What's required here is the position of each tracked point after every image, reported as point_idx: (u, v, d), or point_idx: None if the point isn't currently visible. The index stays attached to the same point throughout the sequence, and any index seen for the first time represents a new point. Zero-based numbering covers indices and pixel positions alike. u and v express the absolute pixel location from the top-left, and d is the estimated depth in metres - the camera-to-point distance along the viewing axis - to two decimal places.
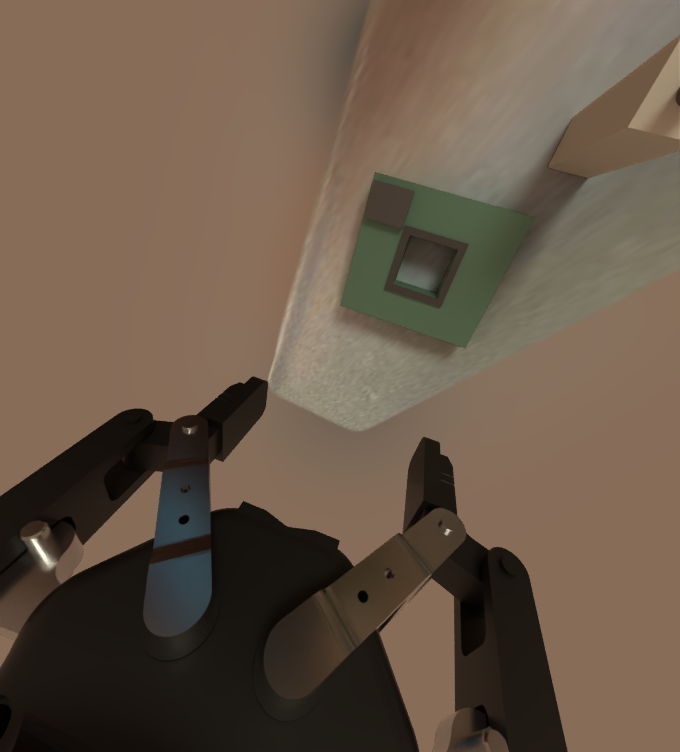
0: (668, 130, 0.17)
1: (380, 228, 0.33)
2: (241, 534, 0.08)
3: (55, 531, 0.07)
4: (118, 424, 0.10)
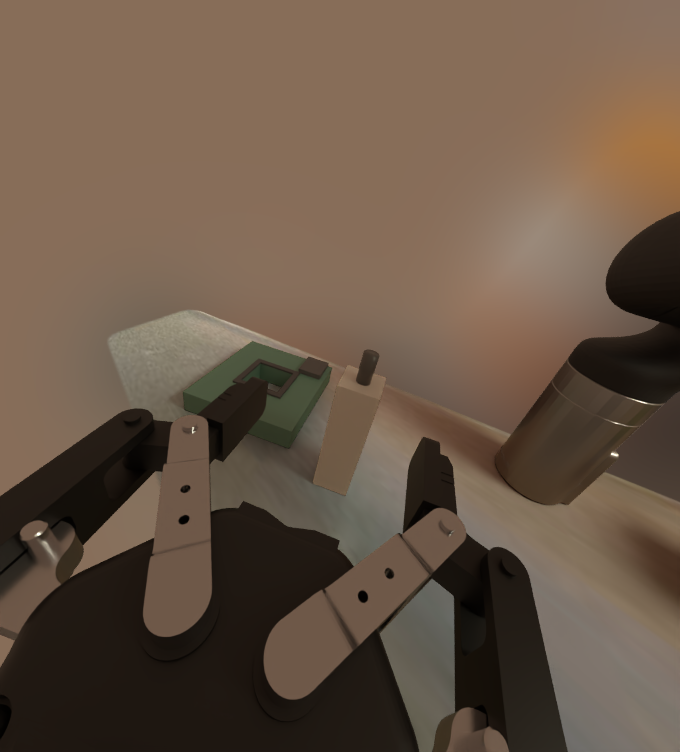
0: (345, 375, 0.27)
1: (300, 364, 0.48)
2: (241, 534, 0.08)
3: (55, 531, 0.07)
4: (118, 424, 0.10)
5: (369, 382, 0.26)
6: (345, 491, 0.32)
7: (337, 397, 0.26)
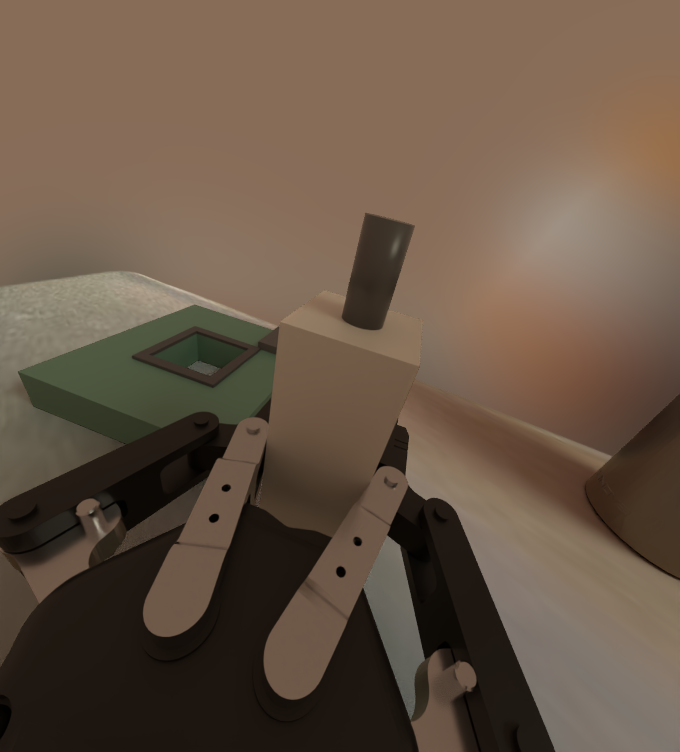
0: (312, 306, 0.10)
1: (263, 337, 0.30)
2: (241, 534, 0.08)
3: (107, 511, 0.08)
4: (189, 423, 0.10)
5: (381, 320, 0.09)
6: None
7: (285, 365, 0.09)
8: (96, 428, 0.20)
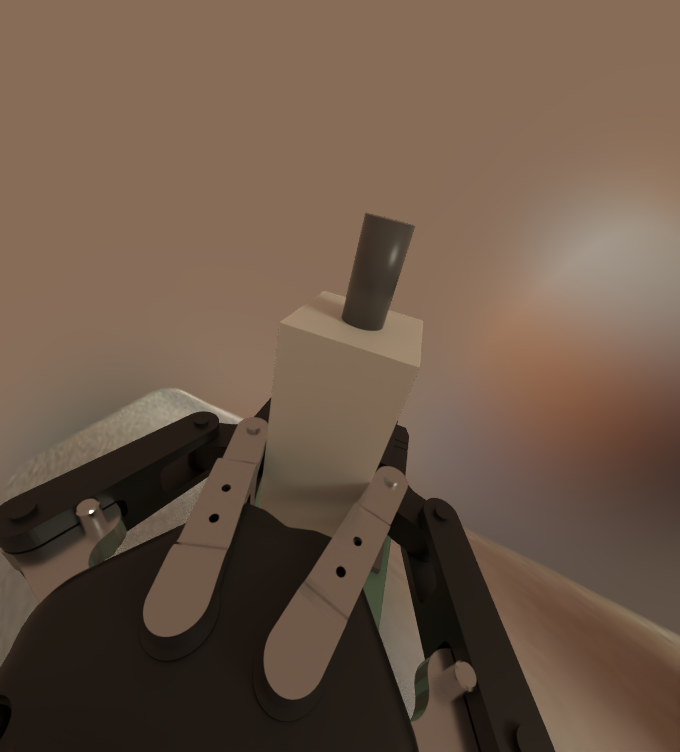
0: (311, 306, 0.10)
1: None
2: (241, 534, 0.08)
3: (107, 512, 0.08)
4: (189, 423, 0.10)
5: (381, 321, 0.09)
6: None
7: (284, 365, 0.09)
8: None
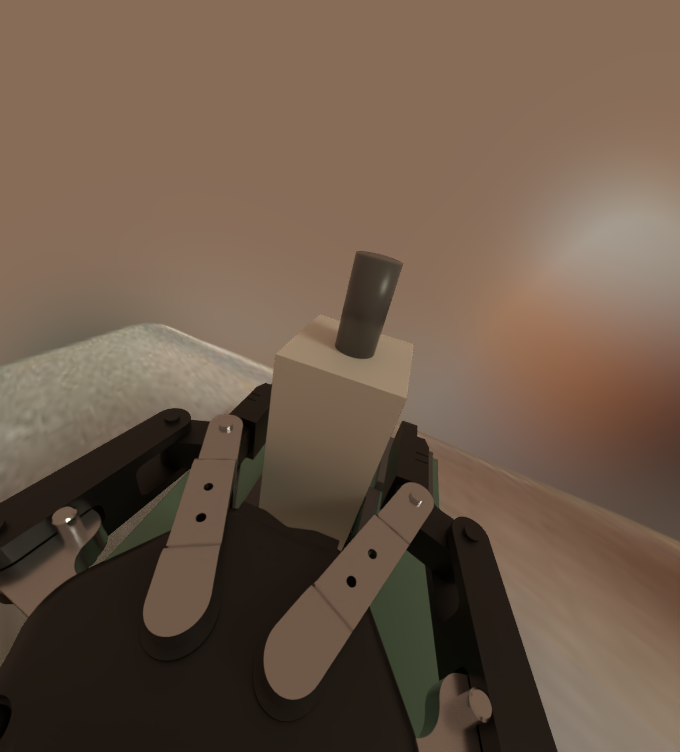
0: (306, 334, 0.10)
1: None
2: (241, 534, 0.08)
3: (84, 518, 0.08)
4: (159, 422, 0.10)
5: (372, 350, 0.09)
6: None
7: (280, 392, 0.09)
8: None
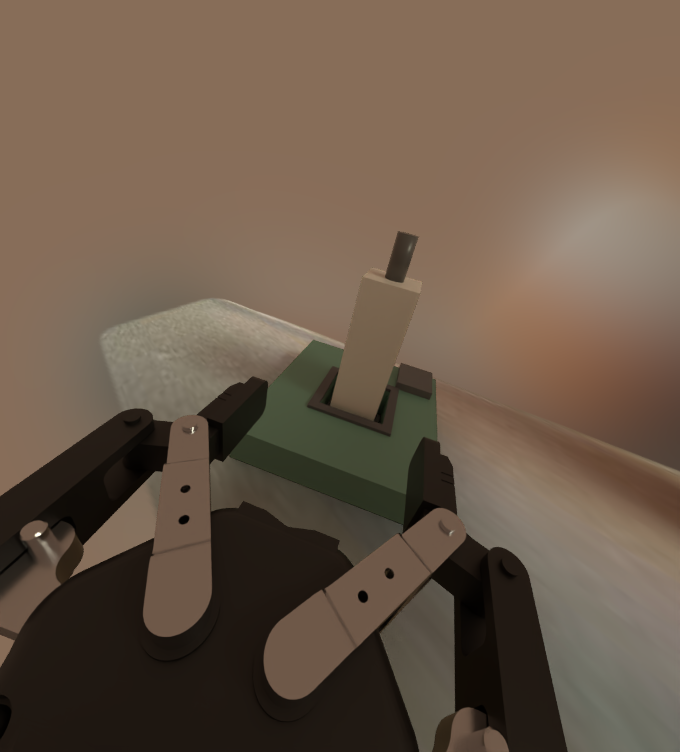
0: (370, 272, 0.21)
1: (391, 375, 0.31)
2: (241, 534, 0.08)
3: (55, 531, 0.07)
4: (118, 424, 0.10)
5: (403, 278, 0.20)
6: None
7: (361, 296, 0.20)
8: (297, 479, 0.21)
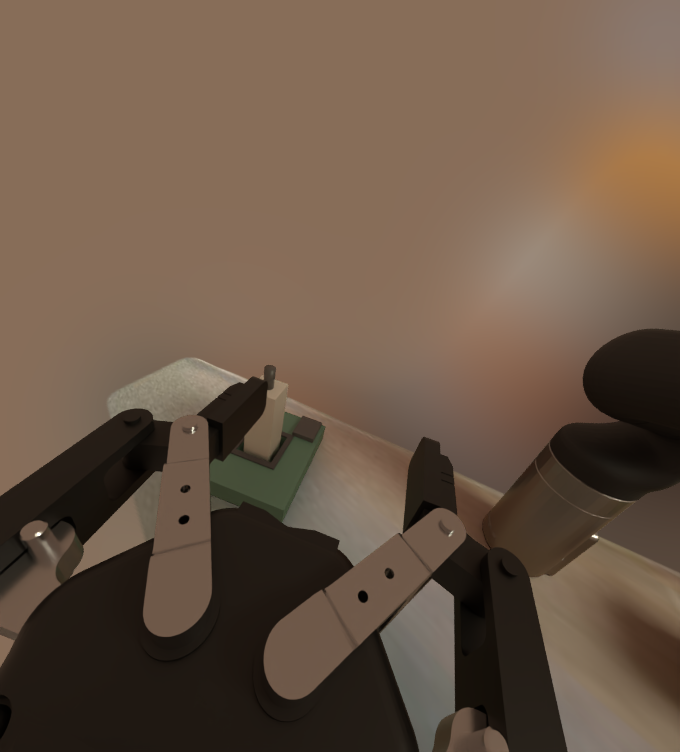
0: None
1: (294, 424, 0.49)
2: (241, 534, 0.08)
3: (55, 531, 0.07)
4: (118, 424, 0.10)
5: (271, 387, 0.38)
6: None
7: None
8: (216, 495, 0.38)
